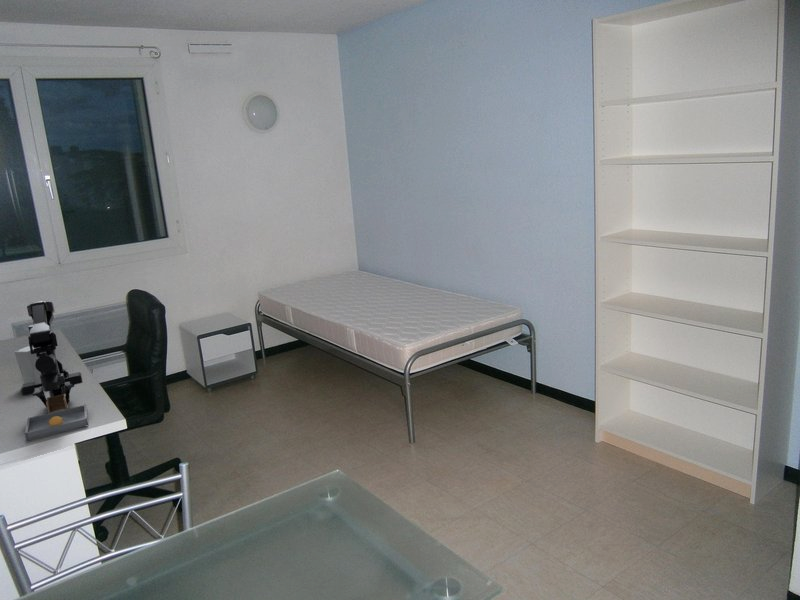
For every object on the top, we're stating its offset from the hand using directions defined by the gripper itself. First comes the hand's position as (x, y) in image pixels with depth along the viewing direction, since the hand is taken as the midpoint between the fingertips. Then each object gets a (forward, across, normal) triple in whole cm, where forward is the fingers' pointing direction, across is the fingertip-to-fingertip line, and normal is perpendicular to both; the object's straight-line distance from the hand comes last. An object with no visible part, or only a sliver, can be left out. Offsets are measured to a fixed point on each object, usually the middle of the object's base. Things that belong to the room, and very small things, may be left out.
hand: (57, 406), depth 219 cm
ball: (0, 0, -18) cm, 18 cm away
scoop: (+2, 0, 0) cm, 2 cm away
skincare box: (+3, -9, +43) cm, 44 cm away
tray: (+2, 0, -13) cm, 13 cm away
